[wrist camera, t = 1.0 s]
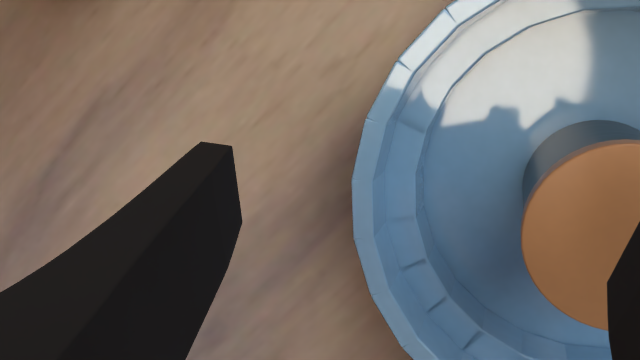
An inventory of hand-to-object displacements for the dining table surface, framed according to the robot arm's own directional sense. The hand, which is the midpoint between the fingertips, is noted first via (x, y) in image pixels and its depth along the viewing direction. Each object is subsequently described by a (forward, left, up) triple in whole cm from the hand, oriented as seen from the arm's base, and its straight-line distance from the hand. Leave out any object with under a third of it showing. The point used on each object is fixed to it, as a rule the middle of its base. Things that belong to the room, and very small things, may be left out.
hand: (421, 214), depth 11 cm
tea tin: (-4, -3, -12) cm, 13 cm away
